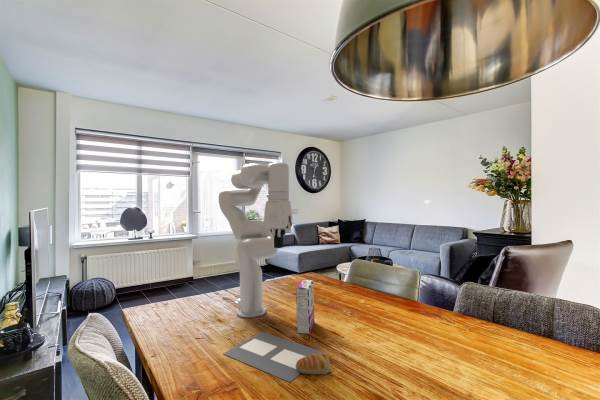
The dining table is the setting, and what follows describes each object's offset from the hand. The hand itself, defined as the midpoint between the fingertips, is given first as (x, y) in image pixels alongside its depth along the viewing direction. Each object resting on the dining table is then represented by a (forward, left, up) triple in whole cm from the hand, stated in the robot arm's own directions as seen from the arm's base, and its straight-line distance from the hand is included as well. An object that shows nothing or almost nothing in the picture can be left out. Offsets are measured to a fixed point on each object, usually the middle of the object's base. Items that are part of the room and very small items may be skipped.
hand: (278, 247), depth 105 cm
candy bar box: (+6, +8, -31) cm, 32 cm away
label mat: (+8, -13, -31) cm, 34 cm away
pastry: (+23, -13, -31) cm, 41 cm away
